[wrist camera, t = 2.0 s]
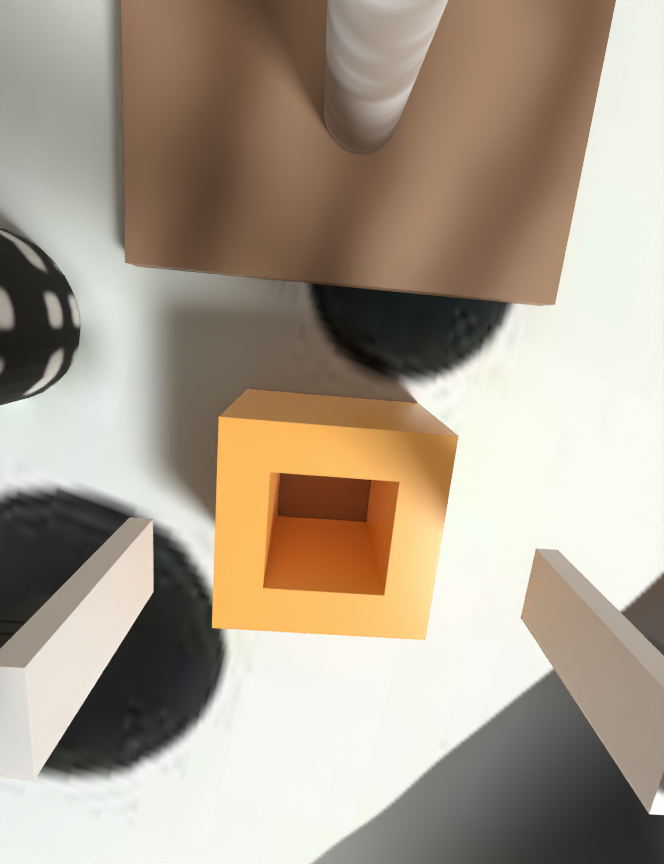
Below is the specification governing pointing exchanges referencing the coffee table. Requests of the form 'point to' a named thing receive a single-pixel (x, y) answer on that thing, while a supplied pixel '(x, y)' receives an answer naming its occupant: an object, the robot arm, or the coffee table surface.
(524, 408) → the coffee table surface
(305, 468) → the collar
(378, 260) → the post board
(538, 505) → the coffee table surface
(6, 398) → the white-spotted black cylinder
